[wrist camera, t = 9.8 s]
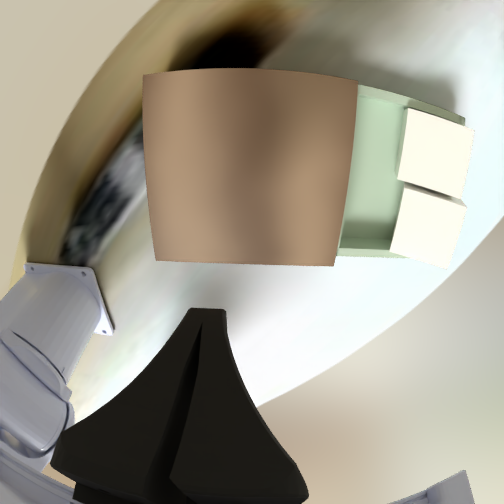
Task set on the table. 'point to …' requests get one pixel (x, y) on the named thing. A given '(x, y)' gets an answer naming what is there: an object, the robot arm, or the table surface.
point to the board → (247, 164)
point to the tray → (377, 172)
